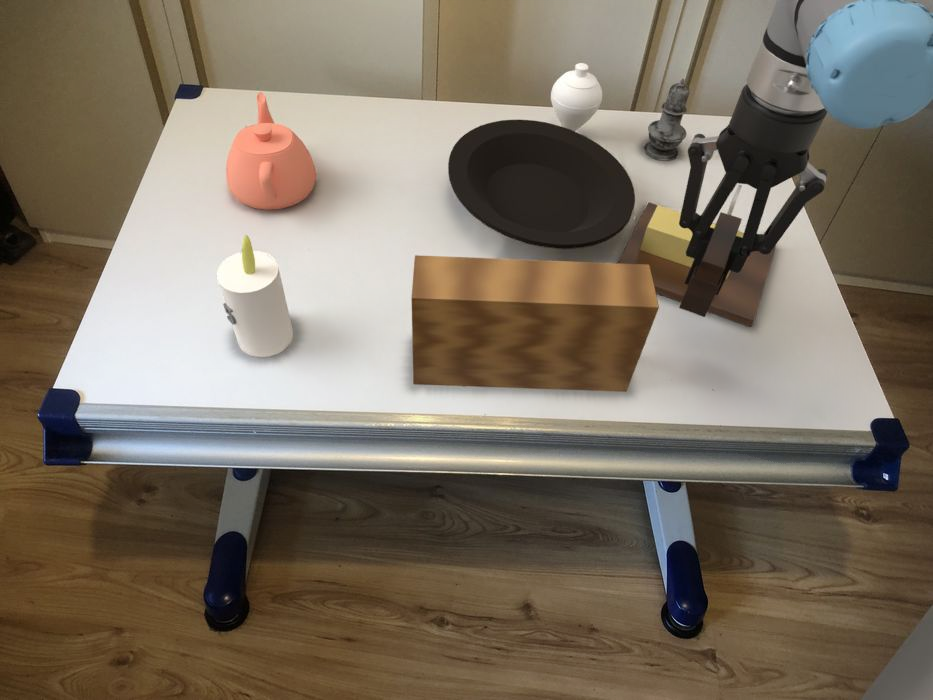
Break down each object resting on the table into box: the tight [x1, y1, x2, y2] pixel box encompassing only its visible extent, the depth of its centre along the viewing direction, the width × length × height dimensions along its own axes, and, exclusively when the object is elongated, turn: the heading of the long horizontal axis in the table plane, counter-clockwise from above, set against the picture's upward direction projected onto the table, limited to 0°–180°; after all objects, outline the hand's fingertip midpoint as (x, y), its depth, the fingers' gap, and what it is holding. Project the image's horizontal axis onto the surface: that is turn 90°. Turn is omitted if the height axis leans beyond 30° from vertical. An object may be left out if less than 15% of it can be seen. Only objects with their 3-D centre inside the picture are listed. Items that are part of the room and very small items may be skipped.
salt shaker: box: [643, 78, 691, 162], centre depth 103 cm, size 6×6×12 cm
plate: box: [447, 119, 636, 250], centre depth 95 cm, size 28×24×6 cm
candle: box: [216, 234, 294, 358], centre depth 74 cm, size 6×6×15 cm
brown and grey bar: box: [678, 184, 743, 318], centre depth 81 cm, size 22×3×8 cm, turn 154°
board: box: [617, 202, 777, 328], centre depth 91 cm, size 16×18×1 cm
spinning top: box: [550, 62, 603, 132], centre depth 104 cm, size 8×8×12 cm
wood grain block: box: [410, 254, 660, 393], centre depth 73 cm, size 24×6×14 cm, turn 90°
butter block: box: [640, 204, 716, 267], centre depth 90 cm, size 5×8×4 cm, turn 64°
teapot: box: [225, 92, 317, 211], centre depth 94 cm, size 12×18×10 cm
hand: (703, 281), depth 79 cm, fingers closed on brown and grey bar, 2 cm apart
